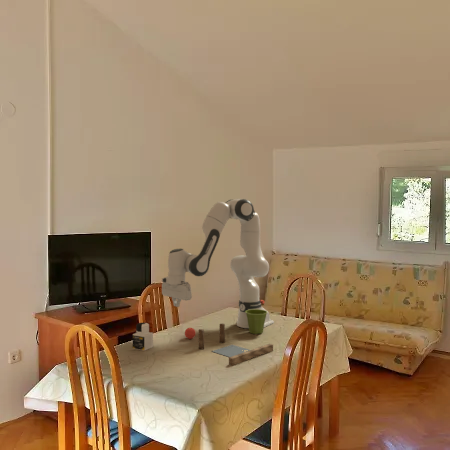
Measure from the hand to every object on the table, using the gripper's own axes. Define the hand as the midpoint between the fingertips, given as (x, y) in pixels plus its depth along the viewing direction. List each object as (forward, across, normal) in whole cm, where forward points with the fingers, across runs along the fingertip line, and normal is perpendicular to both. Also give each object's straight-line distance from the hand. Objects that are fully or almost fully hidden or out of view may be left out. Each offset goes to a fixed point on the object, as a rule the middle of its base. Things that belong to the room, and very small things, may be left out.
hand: (176, 306), depth 262 cm
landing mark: (+15, -40, -1) cm, 42 cm away
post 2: (+15, -26, -8) cm, 31 cm away
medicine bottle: (+16, -5, +25) cm, 30 cm away
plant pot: (+15, -27, -33) cm, 45 cm away
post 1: (+15, -26, +6) cm, 30 cm away
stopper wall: (+15, -52, -1) cm, 54 cm away
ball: (+12, -10, -1) cm, 16 cm away
